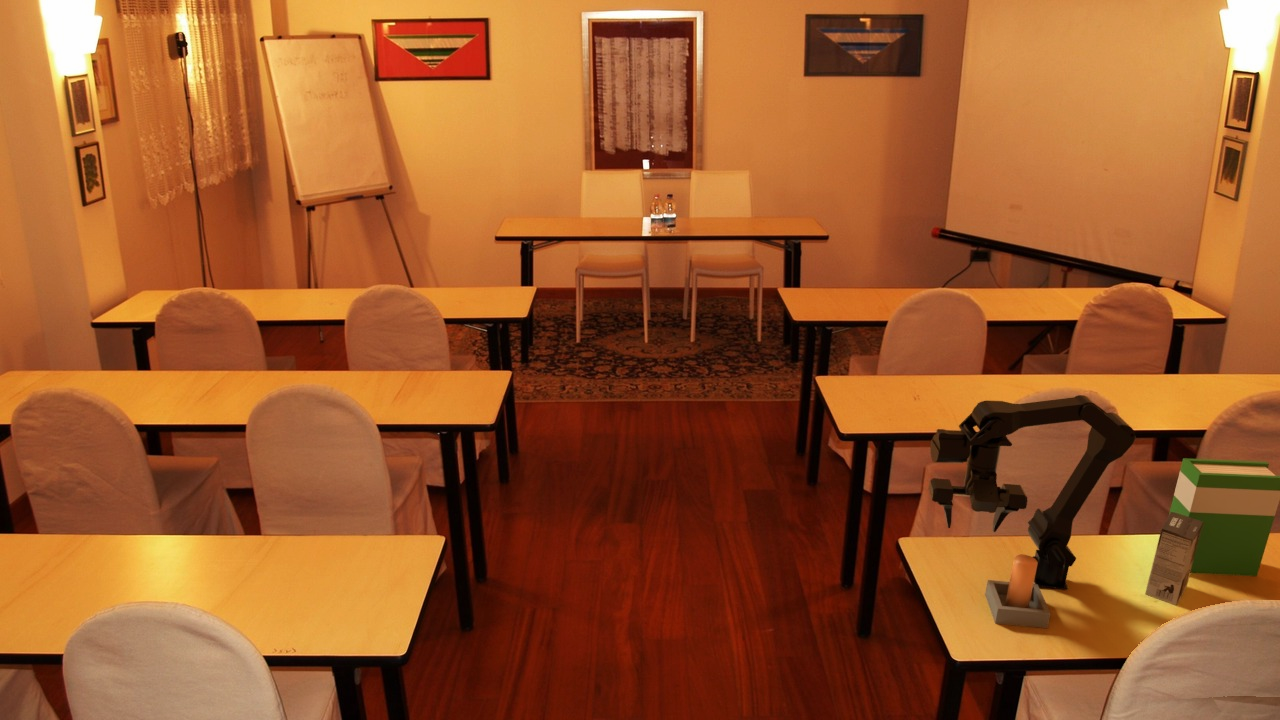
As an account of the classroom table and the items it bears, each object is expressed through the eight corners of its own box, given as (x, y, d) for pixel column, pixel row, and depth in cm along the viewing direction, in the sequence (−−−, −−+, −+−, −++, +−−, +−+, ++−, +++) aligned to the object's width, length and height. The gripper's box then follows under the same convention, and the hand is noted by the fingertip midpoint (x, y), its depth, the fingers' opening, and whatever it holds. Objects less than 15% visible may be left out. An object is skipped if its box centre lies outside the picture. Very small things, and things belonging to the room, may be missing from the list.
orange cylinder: (1031, 606, 199) (1041, 560, 195) (1022, 616, 196) (1032, 569, 192) (1010, 597, 202) (1019, 551, 198) (1001, 606, 199) (1010, 560, 195)
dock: (1034, 598, 204) (1037, 584, 202) (1047, 628, 194) (1050, 613, 193) (985, 594, 205) (987, 579, 203) (995, 623, 195) (998, 608, 194)
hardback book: (1239, 557, 220) (1266, 461, 212) (1256, 576, 214) (1286, 478, 205) (1159, 553, 221) (1183, 458, 212) (1174, 572, 214) (1199, 474, 205)
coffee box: (1154, 575, 213) (1171, 510, 207) (1187, 587, 209) (1205, 520, 203) (1143, 594, 206) (1160, 527, 200) (1177, 606, 202) (1195, 538, 196)
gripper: (941, 477, 194) (931, 545, 199) (1040, 485, 192) (1026, 553, 197) (933, 452, 204) (923, 517, 210) (1026, 459, 202) (1013, 525, 208)
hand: (971, 529), depth 206 cm, fingers open, 9 cm apart
